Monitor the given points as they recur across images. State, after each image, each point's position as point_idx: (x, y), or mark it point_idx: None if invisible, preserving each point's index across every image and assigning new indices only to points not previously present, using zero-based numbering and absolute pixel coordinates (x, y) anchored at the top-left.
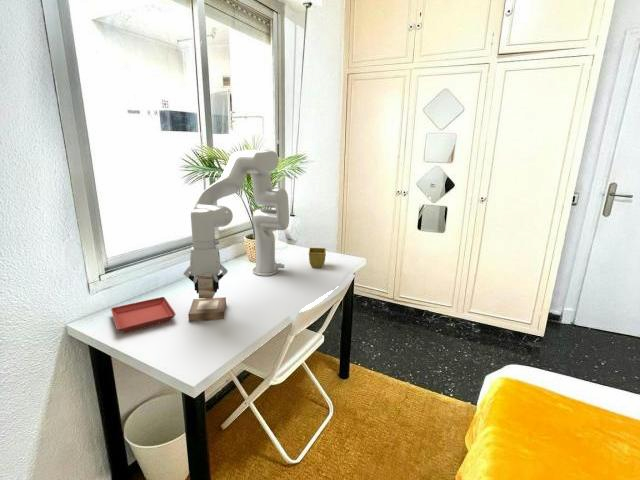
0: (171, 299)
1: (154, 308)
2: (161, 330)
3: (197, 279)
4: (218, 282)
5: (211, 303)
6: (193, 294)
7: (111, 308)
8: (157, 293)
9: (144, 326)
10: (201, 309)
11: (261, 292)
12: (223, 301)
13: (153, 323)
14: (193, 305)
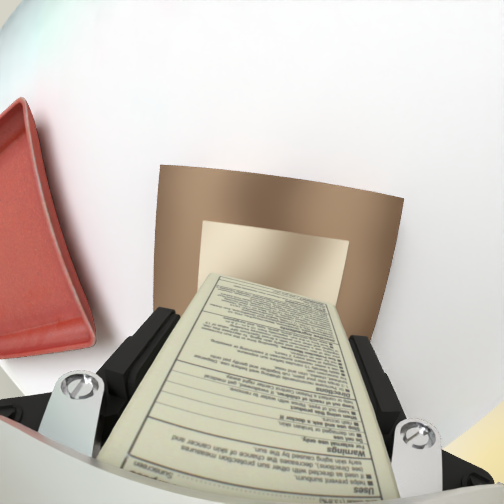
0: (72, 61)
1: (16, 170)
2: (85, 367)
3: (108, 427)
4: (399, 419)
5: (291, 287)
6: (180, 3)
7: None
8: (36, 10)
9: (28, 336)
10: None
11: None
12: (378, 269)
13: (44, 336)
14: (167, 272)
